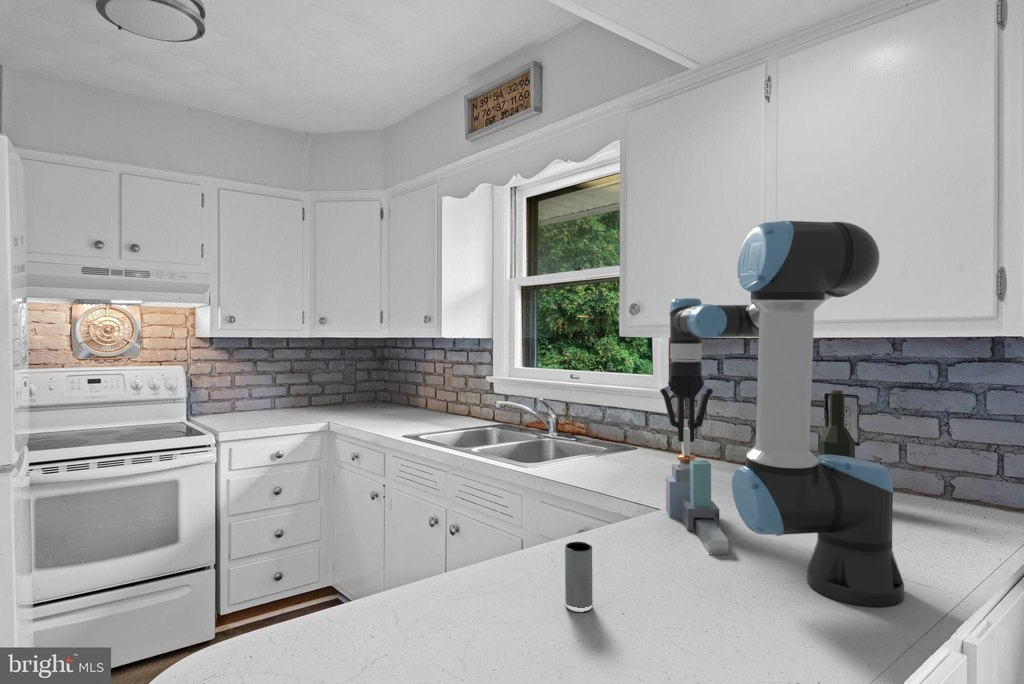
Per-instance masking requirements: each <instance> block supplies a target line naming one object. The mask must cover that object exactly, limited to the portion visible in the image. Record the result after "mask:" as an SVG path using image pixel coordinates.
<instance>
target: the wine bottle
mask: <svg viewBox="0 0 1024 684" xmlns="http://www.w3.org/2000/svg"><path fill="white" fill-rule="evenodd" d="M843 392H844V391H843V390H842V389H832V390H831V392H830V393H829V425H827V428H826V429H825V431H824V432H823V434H822V435H821V436H820V438H819V443H818V444H819V446H818V447H819V452H818V454H819V455H818V457H819V456H820V455H824V454H827V455H838V456H845V457H851V458H856V441H855V439H854V438H853V437H852V434H851V433H850V432H849V430H848V428H847V427H846V426H845V393H843Z"/></svg>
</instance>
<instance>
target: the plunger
mask: <svg viewBox="0 0 1024 684" xmlns="http://www.w3.org/2000/svg"><path fill="white" fill-rule="evenodd" d="M676 459H677V460H679V464H680V469H690V460H696V455H694V454H691V453H690V456H684V455H683V454H682V453H679V454H676Z"/></svg>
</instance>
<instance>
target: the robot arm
mask: <svg viewBox="0 0 1024 684" xmlns="http://www.w3.org/2000/svg"><path fill="white" fill-rule="evenodd" d="M876 242H877V241H876V240H875V239H874V237H873V236H872V235H871V234H870V233H869V232H868V231H867V230H866V229H864V228H862V227H861V226H858V225H856V224H854V223H851V222H846V221H845V222H844V221H807V220H806V221H802V220H801V221H800V220H780V221H770V222H769V221H767V222H762V223H760V224H758V225H756V226H755V227H753V229H751V230H750V232H749V233H748V234H747V236H746V238H745V239H744V241H743V243H742V245H741V248H740V250H739V254H738V255H739V256H738V259H737V268H736V269H737V270H736V271H737V278H738V279H739V282H738V283H739V284H740V286H741V288H743V289H744V290H745V291H747V292H750V302H751V303H750V304H711V303H710V304H709V303H708V304H706V303H704V304H702V301H701V299H700V298H697V297H695V298H693V297H691V298H690V297H689V298H687V297H686V298H685V297H684V298H674V299H672V300H671V301H670V309H669V310H670V311H669V320H670V321H669V326H670V327H669V328H670V329H669V331H670V333H669V334H670V335H669V336H670V337H669V338H670V339H669V340H670V341H669V342H670V343H669V344H670V351H669V354H670V355H669V356H670V359H671V360H672V361H670V364H669V365H670V367H669V369H670V370H669V371H670V372H669V373H670V376H669V377H670V378H669V380H668V382H667V385H665V386H663V387H660V388H659V392H660V394H661V395H662V397H663V400H664V404H665V408H666V413H667V416H668V419H669V423H670V425H671V426H672V427H673V428H677V441H678V442H679V443H681V454H683V455H684V456H690V454H691V443H694V441H695V429H696V428H701V427H702V426H703V423H704V418H705V415H706V411H707V405H708V401H709V398H710V397H711V396H712V394H713V392H714V390H713V389H712V388H710V387H708V386H706V385H705V383H704V380H703V378H702V374H703V373H702V371H703V370H702V369H703V368H702V365H703V364H702V362H701V361H700V360H701V359H702V358H703V357H702V355H703V354H702V351H703V350H702V343H703V342H702V339H712V338H758V347H757V348H758V351H757V353H758V354H757V356H758V357H757V383H756V384H757V388H756V389H757V390H756V417H755V418H756V421H755V422H756V423H755V424H756V425H755V445H754V446H752V448H751V449H750V450H748V451H747V452H746V454H745V456H746V457H745V465H741V466H740V467H737V468H736V469H734V471H733V474H732V479H731V490H732V497H733V501H734V505H735V508H736V509H737V512H738V515H739V516H740V519H741V520H742V522H743V523H744V524H745V526H746V527H747V528H748V529H749V530H750V531H751V532H754V533H755V534H758V535H765V536H766V535H772V536H773V535H774V536H777V537H780V536H784V535H785V536H786V535H798V534H799V535H804V534H817V542H816V544H815V546H814V549H813V552H812V554H811V557H810V559H809V563H808V565H807V569H806V581H807V582H806V583H807V584H808V585H809V587H810V588H811V589H813V590H814V591H815V592H817V593H819V594H821V595H823V596H825V597H827V598H830V599H833V600H836V601H840V602H843V603H848V604H852V605H856V606H857V605H858V606H865V607H890V606H895V605H898V604H900V603H902V602H903V601H904V599H905V583H904V580H903V577H902V575H901V572H900V569H899V566H898V564H897V561H896V558H895V554H894V551H893V500H894V499H893V496H894V493H895V491H894V485H893V476H892V472H891V470H890V469H889V468H887V466H884V465H882V464H880V463H877V462H874V461H870V460H866V459H861V458H856V457H855V458H851V457H845V456H838V455H827V454H824V455H820V456H819V455H818V457H816V456H815V454H813V452H812V451H811V450H810V441H811V440H810V436H811V434H810V433H811V414H812V413H811V411H812V410H811V409H812V408H811V407H812V405H811V404H812V382H813V381H812V379H813V355H814V354H813V353H814V325H815V324H814V323H815V311H816V310H817V309H818V308H819V307H820V306H821V305H823V304H824V303H825V301H827V300H829V299H832V298H843V297H846V296H849V295H850V294H853V293H854V292H856V291H858V290H860V289H861V288H863V287H865V286H866V285H867V284H868V283H869V282H870V281H871V280H872V279H873V277H874V276H875V274H876V272H877V271H878V267H879V266H880V265H879V263H880V250H879V248H878V245H877V243H876ZM671 390H672V393H674V395H675V396H676V401H677V404H676V405H677V406H676V409H677V411H676V412H677V413H676V414H677V415H676V416H675V411H674V408H673V403H672V401H671V397H670V394H671ZM700 391H701V394H702V395H701V397H700V401H699V405H698V410H697V413H696V411H695V409H696V408H695V405H696V404H695V403H696V396H697V395H698V394H699V392H700ZM685 399H686V400H687V427H685ZM695 413H696V417H695ZM676 419H677V421H676Z"/></svg>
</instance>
